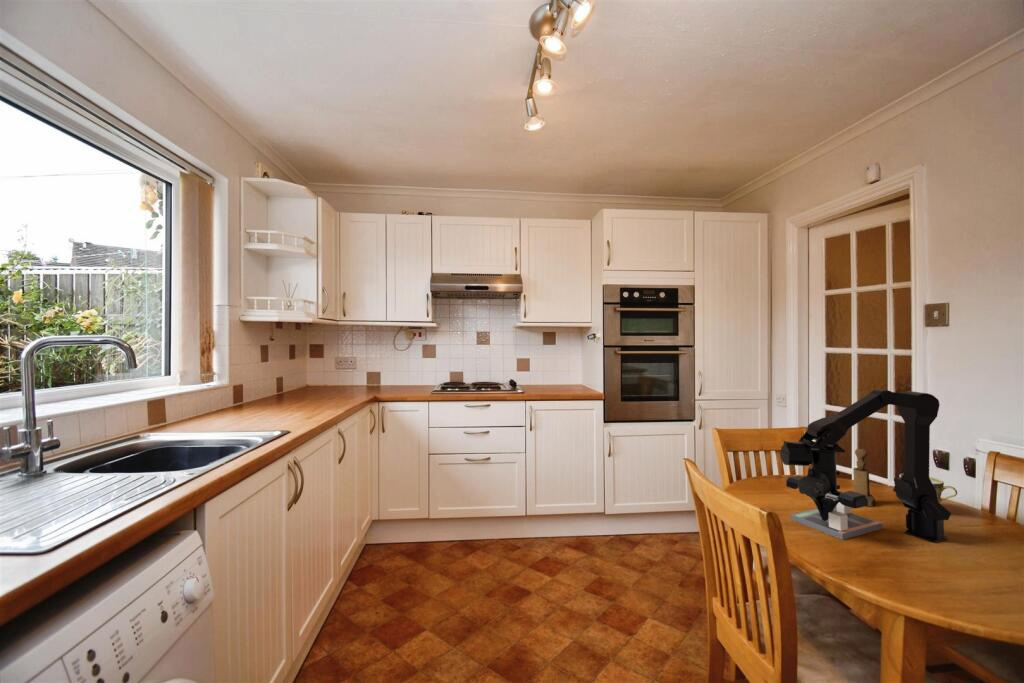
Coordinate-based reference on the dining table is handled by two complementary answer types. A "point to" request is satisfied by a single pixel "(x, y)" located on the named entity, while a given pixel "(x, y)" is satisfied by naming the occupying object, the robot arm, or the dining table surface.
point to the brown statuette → (862, 477)
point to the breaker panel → (855, 528)
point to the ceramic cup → (939, 487)
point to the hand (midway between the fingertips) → (824, 520)
